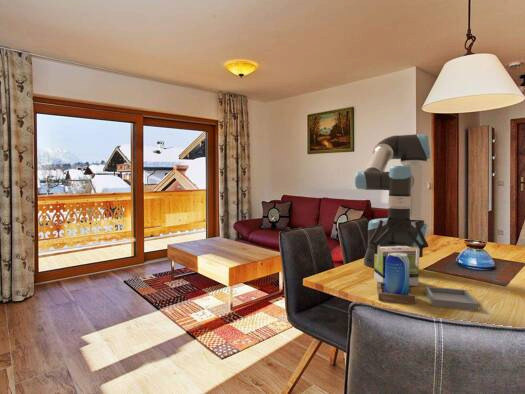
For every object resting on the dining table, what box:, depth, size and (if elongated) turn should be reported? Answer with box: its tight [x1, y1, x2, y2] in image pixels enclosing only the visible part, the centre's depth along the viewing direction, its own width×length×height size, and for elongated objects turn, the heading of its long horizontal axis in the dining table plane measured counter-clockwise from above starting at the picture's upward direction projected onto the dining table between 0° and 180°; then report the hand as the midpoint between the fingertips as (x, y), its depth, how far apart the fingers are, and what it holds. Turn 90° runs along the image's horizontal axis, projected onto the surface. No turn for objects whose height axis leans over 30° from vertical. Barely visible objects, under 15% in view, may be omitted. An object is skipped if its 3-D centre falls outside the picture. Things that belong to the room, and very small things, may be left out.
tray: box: [424, 285, 480, 312], centre depth 120 cm, size 14×14×2 cm
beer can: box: [384, 252, 410, 295], centre depth 125 cm, size 8×8×16 cm
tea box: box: [373, 245, 420, 287], centre depth 140 cm, size 15×10×15 cm
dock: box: [376, 281, 416, 305], centre depth 126 cm, size 13×12×2 cm
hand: (397, 264), depth 124 cm, fingers open, 13 cm apart
